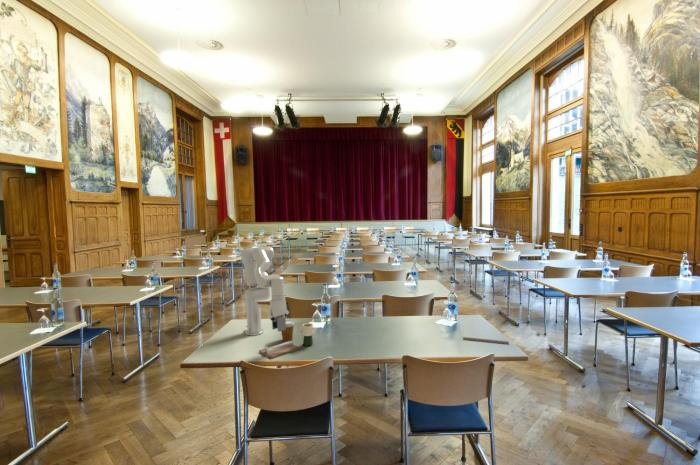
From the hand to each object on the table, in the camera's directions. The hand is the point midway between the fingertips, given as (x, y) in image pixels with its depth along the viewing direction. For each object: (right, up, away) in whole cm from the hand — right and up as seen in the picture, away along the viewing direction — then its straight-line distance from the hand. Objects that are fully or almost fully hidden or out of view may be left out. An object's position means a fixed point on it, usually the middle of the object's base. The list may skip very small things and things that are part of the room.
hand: (278, 326), depth 222 cm
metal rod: (+130, -13, +10) cm, 131 cm away
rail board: (0, -15, +1) cm, 15 cm away
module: (0, -2, 0) cm, 2 cm away
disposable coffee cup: (+2, -14, +19) cm, 24 cm away
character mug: (+17, -15, +10) cm, 24 cm away
